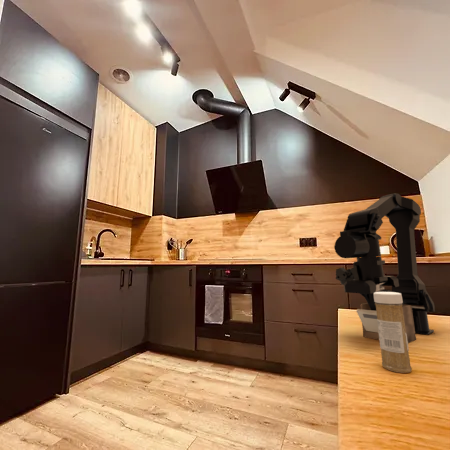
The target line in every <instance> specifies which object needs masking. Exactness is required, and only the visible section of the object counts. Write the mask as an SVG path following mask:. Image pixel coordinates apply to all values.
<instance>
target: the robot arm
mask: <svg viewBox="0 0 450 450" xmlns="http://www.w3.org/2000/svg"><path fill="white" fill-rule="evenodd" d="M421 213H422V210H421V206H420V204H419V203H417V202H416V201H415V200H414V199H412V198H408V197H406V196H402V195H400V194H399V193H391V194H386V195H382V196H380V197H379V199H378V200H376V201H374V203H372V204H371V205H369V206H368V207H367V208H366V209H365V208H364V209H362V210H358V211H354V212H351V213H350V214H348V215H347V219H346V221H345V225H344V228H343V230H342V231H340V232H339V236H338V238H337V239H336V240H335V241H334V245H333V247H334V252H335V253H336V255H337V256H338V257H340V258H342V259H356V261H353V263H352V267H351V268H347V269H346V268H344V267H339V268H336V269H335V280H336V281H339V282H340V285H341V286H343V290H344V291H343V292H344V293H350V294H359V295H361V296H362V297H364V299H365V301H366V303H368V305H369V307H370V309H371V310H373V311H376V305H375V302H374V292H396V293H401V295H402V300H403V303H402V305H411V306H412V313H413V320H414V327H415V334H420V335H430V334H432V333H434V332H435V329H431V328H430V325H429V319H428V313H431V312H432V313H433V312H436V311H435V308H436V307H435V303H434V301H433V299H432V297H431V296H430V294H429V293H428V291H427V289H426V284H425V283H424V282H423V281H422V280H421V278H420V277H419V275H418V263H417V250H416V241H415V239H416V238H415V237H416V236H415V230H416V228H417V227H418V225H419V224H420V221H421V219H420V216H421ZM384 217H386V218H387V219H388V221H389V223H390V225H391V226H392V228H394V229H395V240H396V241H395V242H396V243H395V244H396V258H397V259H396V260H397V274H396V275H397V276H394V275H385V274H384V267H383V265H386V260H385V259H382V253H381V245H380V240H382V236H381V235H380V234H378V233H377V231H378V230H379V229H380V228H381V226H382V225H383V223H384V221H383V218H384ZM385 287H391V289H385Z"/></svg>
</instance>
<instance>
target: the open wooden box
mask: <svg viewBox="0 0 450 450" xmlns="http://www.w3.org/2000/svg"><path fill="white" fill-rule="evenodd" d="M359 306H360V309H364V310H371V309H370V307H369V305H368V303H367V302H366V303H361V304H360V305H359ZM412 306H413V305H405V304H404V305H402V310H403V316H404V323H405V331H406V334H407V341H408V344H410V343H412V342H414V341H416V340H417V335H416V333H415V327H414V320H413V313H412ZM361 324H362V323H361ZM361 328H362V335H363V338H369V339H373V340H379V333H377V332H371V331H366V330H365V328H364V326H363V324H362V327H361Z"/></svg>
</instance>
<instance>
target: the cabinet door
mask: <svg viewBox="0 0 450 450" xmlns="http://www.w3.org/2000/svg"><path fill="white" fill-rule="evenodd" d="M356 313H357V315H358V318H359V319H360V322H361V324H363V326H364V328H365V330H366V331H371V332H377V333H379V332H378V323H377V311H373V310H364V309H361V308H357V309H356Z"/></svg>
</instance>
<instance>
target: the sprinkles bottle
mask: <svg viewBox="0 0 450 450" xmlns="http://www.w3.org/2000/svg"><path fill="white" fill-rule="evenodd" d="M374 302H375V305H376V311H377V323H378V332H379V347H380V353H381V354H380V355H381V366H382V367H383V368H384V369H385V370H388V371H391V372H393V373H398V374H399V373H402V374H407V373H411V372H412V370H413V369H412V368H413V367H412V366H411V360H410V355H409V354H410V350H409V343H408V341H407V334H406V331H405V323H404V316H403V310H402V303H403V300H402V295H401V293H396V292H374Z"/></svg>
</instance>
